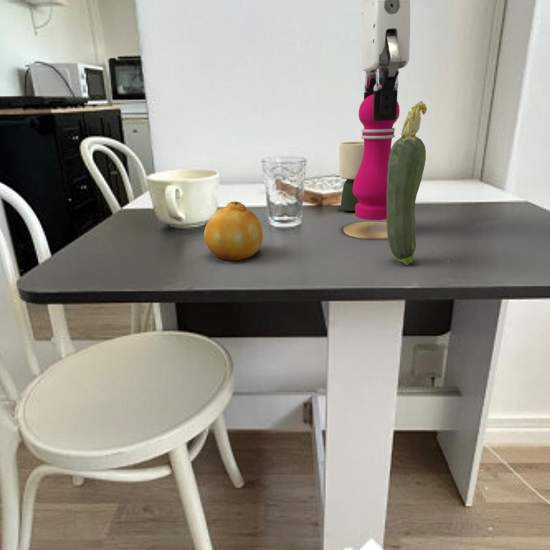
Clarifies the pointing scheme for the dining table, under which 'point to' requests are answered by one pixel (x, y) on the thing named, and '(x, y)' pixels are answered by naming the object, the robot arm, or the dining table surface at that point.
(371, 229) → the coaster
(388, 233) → the vegetable
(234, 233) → the fruit
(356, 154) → the character mug
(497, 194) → the dining table surface
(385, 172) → the pepper mill
